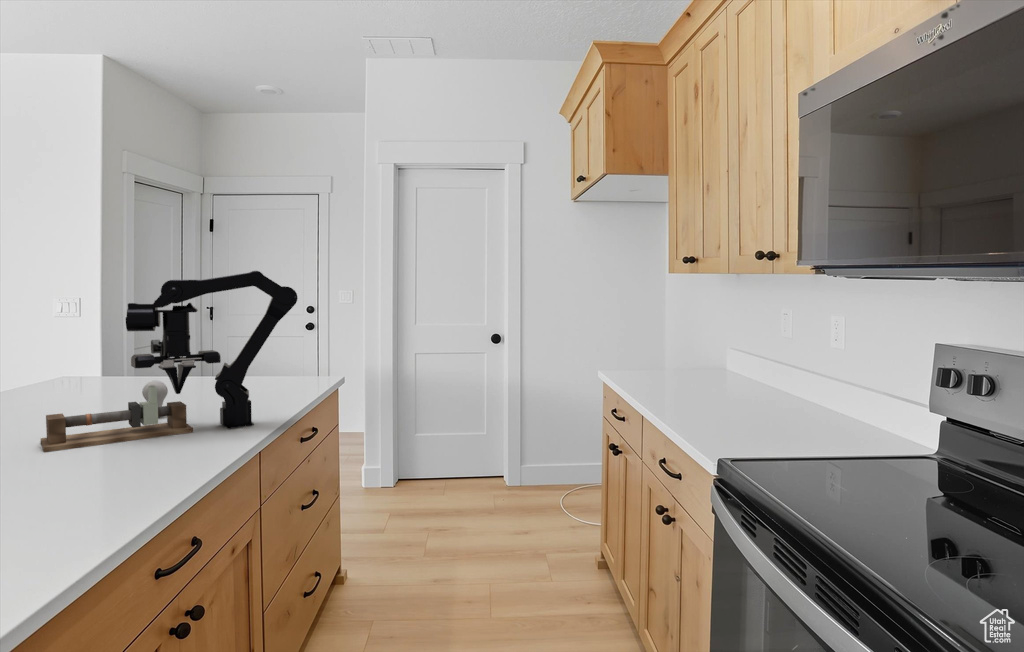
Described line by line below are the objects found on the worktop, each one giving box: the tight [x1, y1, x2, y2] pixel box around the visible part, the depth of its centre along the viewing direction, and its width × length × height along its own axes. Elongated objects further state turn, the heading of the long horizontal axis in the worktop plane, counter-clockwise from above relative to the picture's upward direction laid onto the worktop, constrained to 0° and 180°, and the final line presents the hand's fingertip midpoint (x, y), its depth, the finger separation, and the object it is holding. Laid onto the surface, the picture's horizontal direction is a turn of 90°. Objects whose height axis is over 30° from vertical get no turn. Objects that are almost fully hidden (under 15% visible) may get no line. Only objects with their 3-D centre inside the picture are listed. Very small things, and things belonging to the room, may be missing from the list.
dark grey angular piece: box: [127, 401, 142, 428], centre depth 144 cm, size 2×5×5 cm, turn 41°
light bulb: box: [141, 379, 168, 407], centre depth 164 cm, size 6×6×10 cm
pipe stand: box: [40, 400, 194, 453], centre depth 143 cm, size 29×10×6 cm, turn 131°
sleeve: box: [138, 385, 159, 426], centre depth 146 cm, size 3×5×9 cm, turn 41°
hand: (177, 393), depth 150 cm, fingers closed
